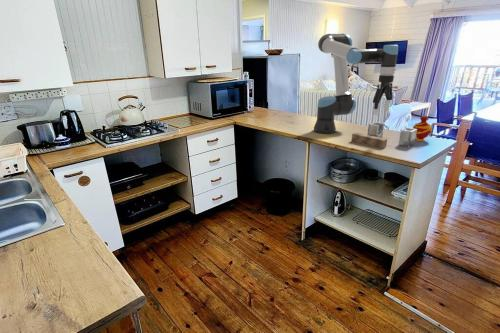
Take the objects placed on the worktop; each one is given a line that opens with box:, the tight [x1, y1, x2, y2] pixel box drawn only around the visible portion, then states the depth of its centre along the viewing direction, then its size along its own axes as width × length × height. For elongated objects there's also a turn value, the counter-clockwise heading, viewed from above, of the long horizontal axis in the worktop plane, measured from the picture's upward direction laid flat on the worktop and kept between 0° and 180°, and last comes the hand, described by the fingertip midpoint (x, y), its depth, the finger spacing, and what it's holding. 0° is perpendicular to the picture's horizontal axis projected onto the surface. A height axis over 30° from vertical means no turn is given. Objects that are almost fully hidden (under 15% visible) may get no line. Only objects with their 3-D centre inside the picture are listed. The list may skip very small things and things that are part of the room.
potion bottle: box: [412, 115, 433, 142], centre depth 180 cm, size 10×10×15 cm
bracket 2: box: [398, 127, 418, 148], centre depth 173 cm, size 6×8×9 cm
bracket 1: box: [366, 121, 385, 138], centre depth 187 cm, size 6×8×9 cm
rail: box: [351, 132, 388, 149], centre depth 176 cm, size 20×4×5 cm, turn 41°
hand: (380, 112), depth 171 cm, fingers open, 13 cm apart
